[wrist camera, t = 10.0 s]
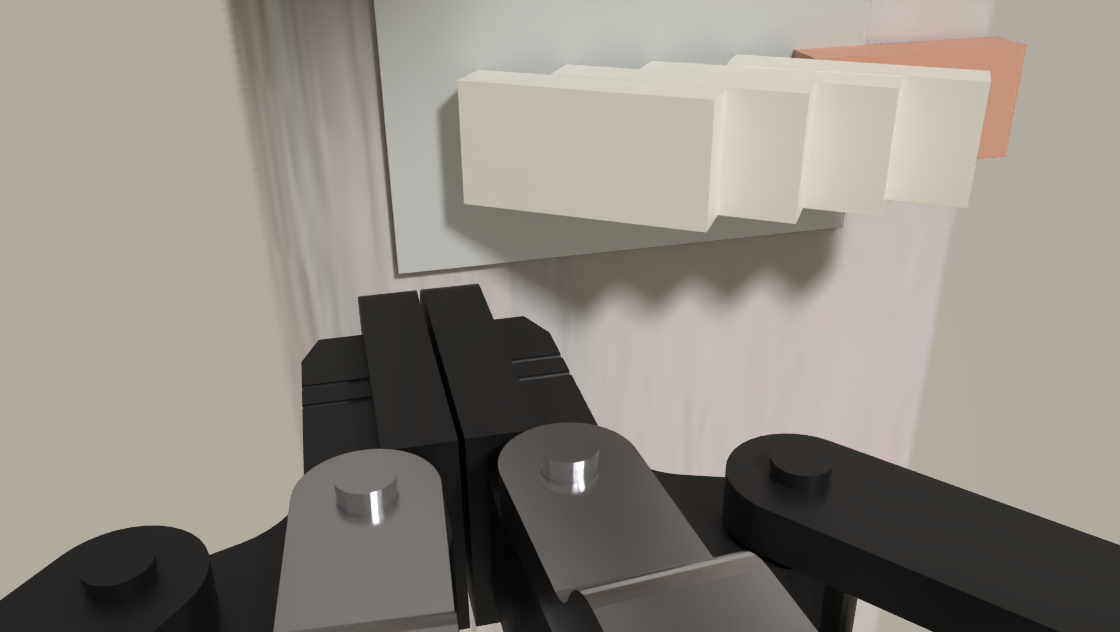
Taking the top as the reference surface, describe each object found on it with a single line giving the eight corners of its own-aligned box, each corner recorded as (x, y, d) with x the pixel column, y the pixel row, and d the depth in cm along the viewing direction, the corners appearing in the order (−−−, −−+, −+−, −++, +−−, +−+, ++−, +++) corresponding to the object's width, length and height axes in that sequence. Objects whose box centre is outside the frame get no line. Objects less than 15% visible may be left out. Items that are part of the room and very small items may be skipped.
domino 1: (457, 80, 38) (714, 99, 35) (478, 69, 40) (726, 87, 37) (464, 203, 40) (706, 232, 37) (483, 188, 42) (717, 214, 39)
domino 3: (637, 70, 40) (899, 88, 36) (651, 60, 41) (902, 76, 38) (635, 189, 42) (881, 216, 39) (648, 175, 43) (885, 200, 40)
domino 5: (815, 58, 41) (1026, 44, 43) (793, 49, 43) (997, 36, 45) (803, 175, 43) (1005, 156, 45) (783, 161, 45) (978, 144, 47)
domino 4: (726, 63, 40) (991, 81, 37) (736, 54, 42) (990, 70, 39) (718, 181, 42) (967, 208, 39) (728, 167, 44) (967, 192, 41)
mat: (371, -19, 38) (372, -18, 37) (870, -41, 42) (875, -40, 42) (397, 270, 43) (398, 273, 43) (838, 224, 47) (842, 227, 47)
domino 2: (550, 74, 39) (809, 93, 36) (567, 64, 40) (816, 81, 37) (551, 195, 41) (795, 224, 38) (567, 181, 43) (803, 207, 39)
